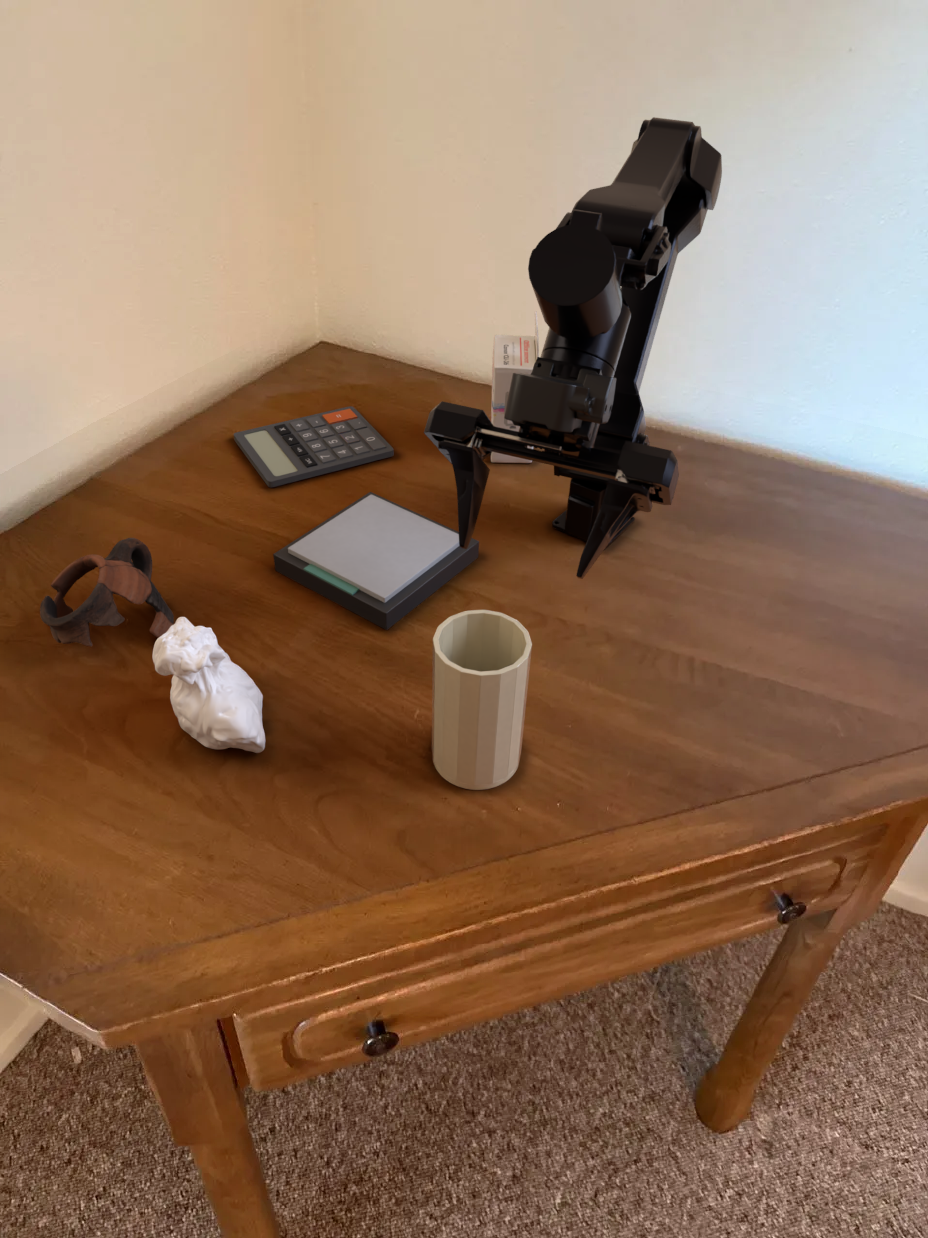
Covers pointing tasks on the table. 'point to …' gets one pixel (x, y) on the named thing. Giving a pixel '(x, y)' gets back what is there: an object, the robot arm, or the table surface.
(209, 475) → the table surface
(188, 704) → the white tied bag
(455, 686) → the cup
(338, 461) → the calculator
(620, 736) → the table surface
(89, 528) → the table surface
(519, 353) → the ink cartridge box
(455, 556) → the scale
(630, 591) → the table surface
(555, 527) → the robot arm
